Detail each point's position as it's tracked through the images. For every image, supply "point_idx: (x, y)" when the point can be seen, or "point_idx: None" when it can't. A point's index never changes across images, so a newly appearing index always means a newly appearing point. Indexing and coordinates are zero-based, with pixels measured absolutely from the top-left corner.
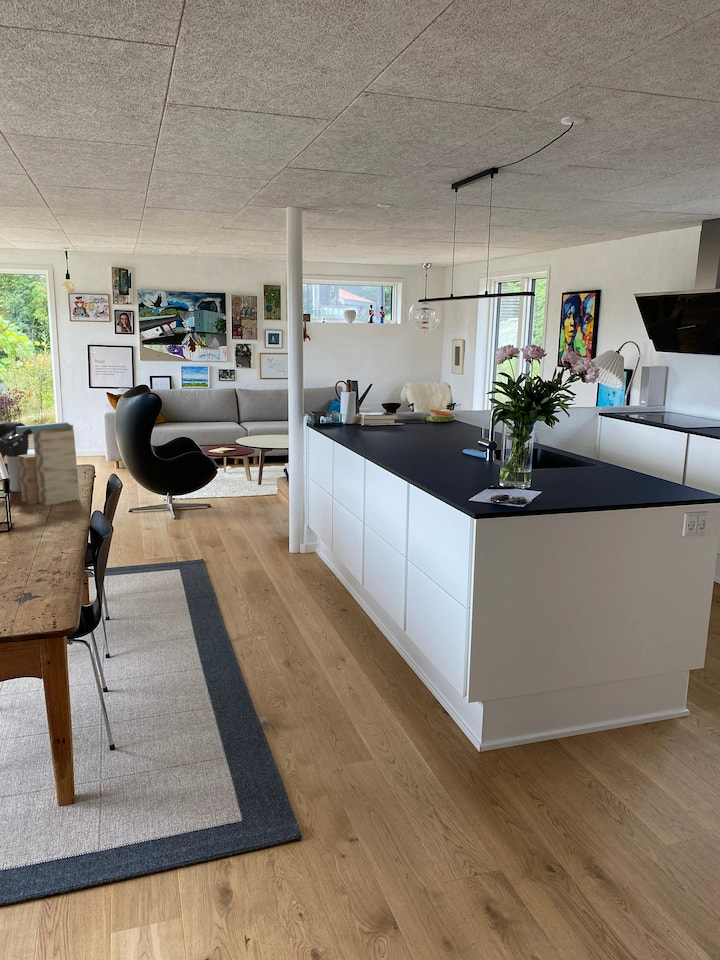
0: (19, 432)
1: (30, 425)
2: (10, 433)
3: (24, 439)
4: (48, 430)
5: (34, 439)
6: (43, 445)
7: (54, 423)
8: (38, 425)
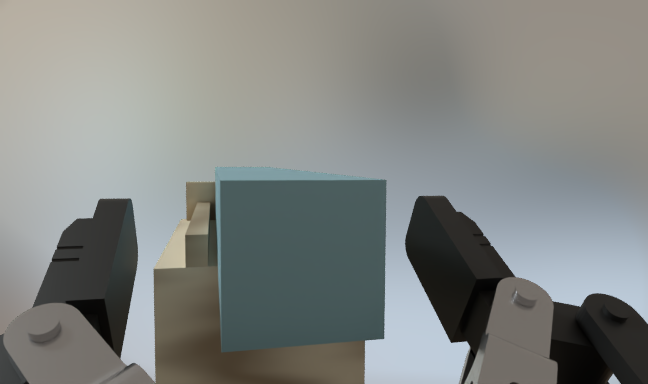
0: (360, 283)
1: (233, 173)
2: (142, 370)
3: (606, 380)
4: None
5: (181, 351)
6: (360, 379)
7: (247, 168)
8: (303, 171)
